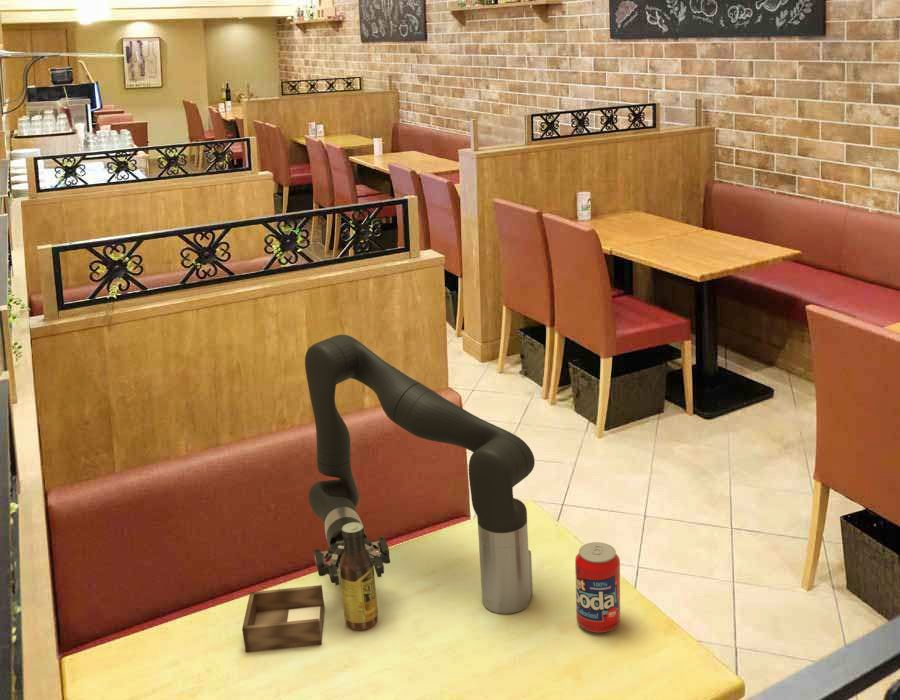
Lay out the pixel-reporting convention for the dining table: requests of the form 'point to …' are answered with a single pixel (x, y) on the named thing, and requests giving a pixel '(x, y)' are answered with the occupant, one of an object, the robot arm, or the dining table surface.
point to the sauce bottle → (357, 579)
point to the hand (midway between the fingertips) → (358, 576)
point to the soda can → (597, 587)
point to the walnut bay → (284, 618)
